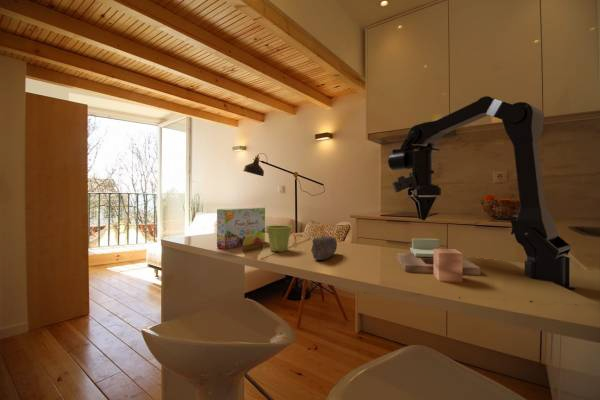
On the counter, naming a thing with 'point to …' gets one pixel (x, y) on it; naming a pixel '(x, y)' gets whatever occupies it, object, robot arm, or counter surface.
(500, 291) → the counter surface
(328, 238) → the perforated stone tool
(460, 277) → the block
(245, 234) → the snack box
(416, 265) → the puzzle board
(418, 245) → the slide cover
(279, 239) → the plant pot
